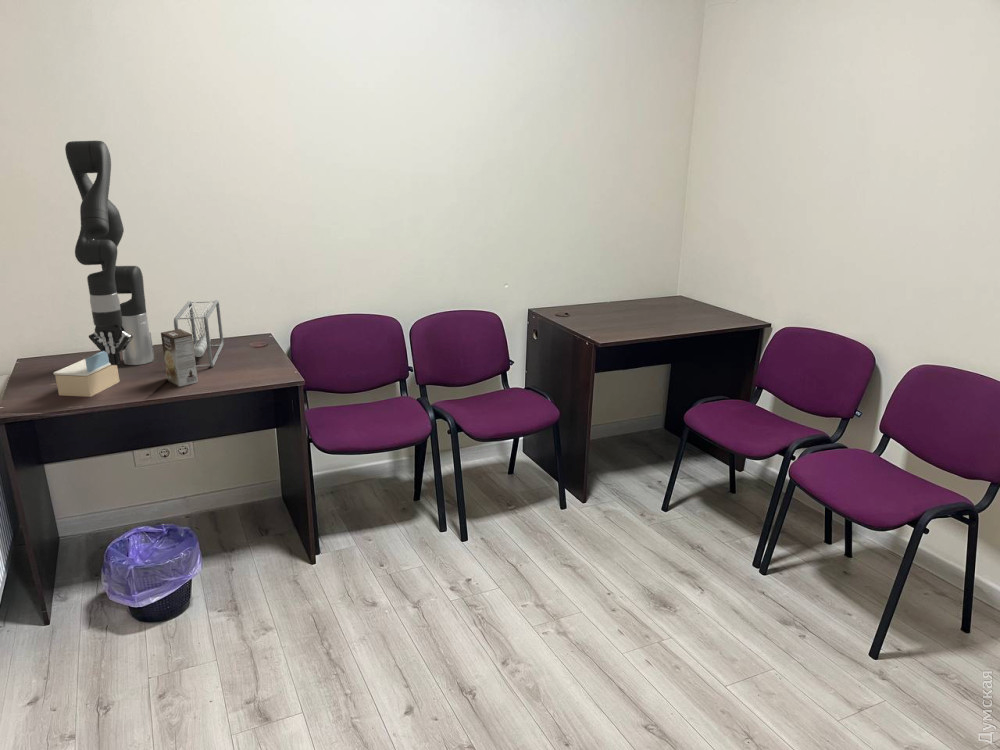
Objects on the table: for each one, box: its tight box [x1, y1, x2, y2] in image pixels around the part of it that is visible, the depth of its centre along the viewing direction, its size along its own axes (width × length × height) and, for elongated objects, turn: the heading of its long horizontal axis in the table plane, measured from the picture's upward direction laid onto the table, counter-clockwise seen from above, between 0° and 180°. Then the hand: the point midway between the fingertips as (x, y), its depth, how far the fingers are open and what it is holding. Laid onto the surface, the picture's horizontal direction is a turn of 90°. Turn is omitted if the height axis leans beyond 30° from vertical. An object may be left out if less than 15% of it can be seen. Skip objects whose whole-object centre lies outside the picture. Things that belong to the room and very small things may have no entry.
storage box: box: [54, 365, 121, 398], centre depth 214 cm, size 14×10×7 cm
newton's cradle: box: [173, 299, 224, 368], centre depth 248 cm, size 30×10×18 cm, turn 14°
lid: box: [53, 351, 111, 376], centre depth 212 cm, size 14×10×5 cm
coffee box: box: [160, 328, 199, 388], centre depth 222 cm, size 9×6×16 cm
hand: (115, 364), depth 212 cm, fingers closed
